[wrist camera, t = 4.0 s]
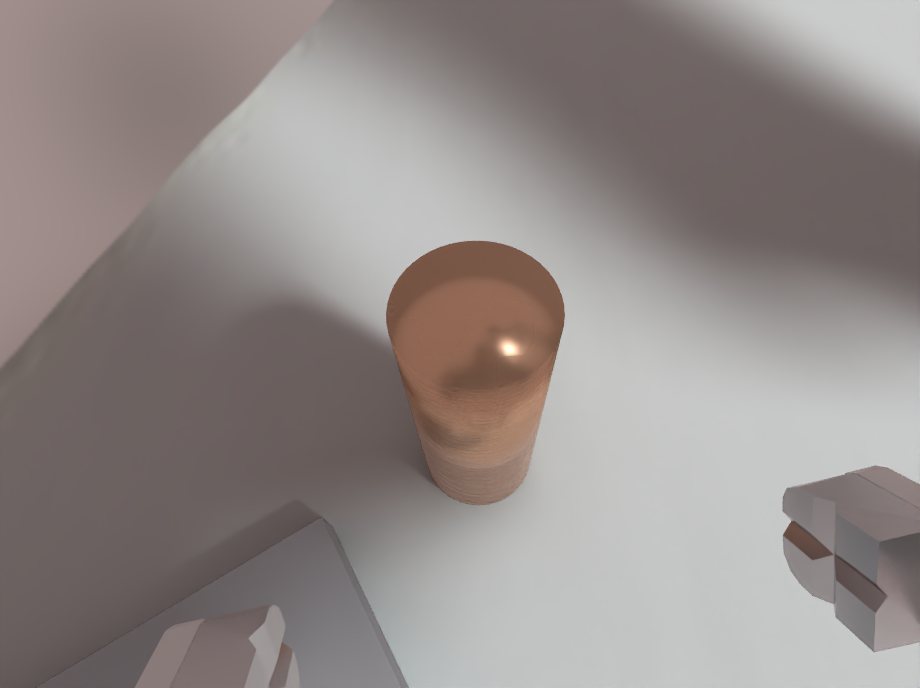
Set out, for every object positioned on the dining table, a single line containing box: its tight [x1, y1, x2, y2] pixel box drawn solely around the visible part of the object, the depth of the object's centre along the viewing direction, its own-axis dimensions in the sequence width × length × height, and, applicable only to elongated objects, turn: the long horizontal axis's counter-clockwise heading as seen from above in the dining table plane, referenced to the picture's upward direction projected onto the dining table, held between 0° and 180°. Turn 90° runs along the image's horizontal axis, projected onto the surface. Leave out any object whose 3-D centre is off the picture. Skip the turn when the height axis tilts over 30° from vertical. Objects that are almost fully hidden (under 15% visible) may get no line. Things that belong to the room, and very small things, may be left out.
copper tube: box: [386, 241, 565, 505], centre depth 16 cm, size 4×4×10 cm
